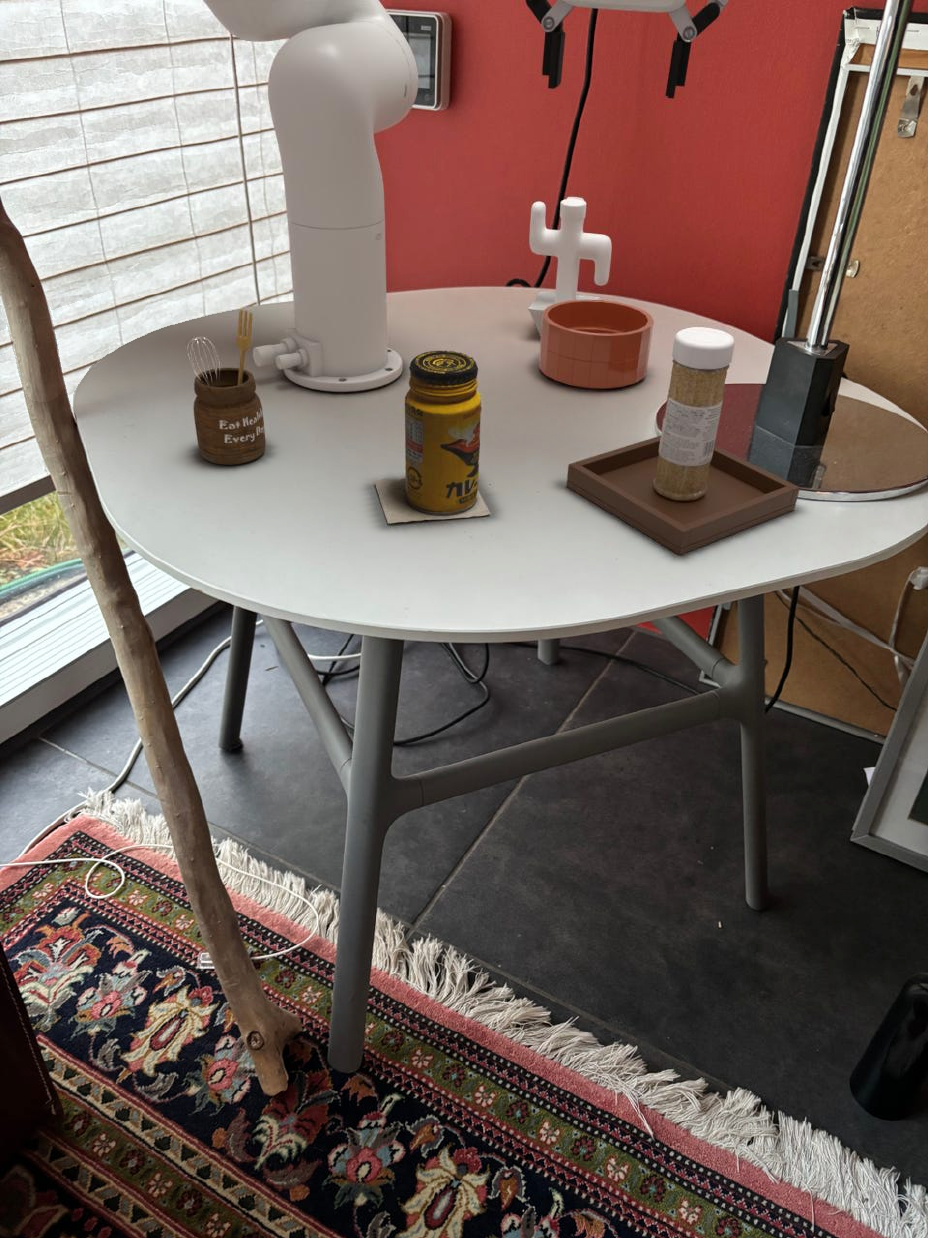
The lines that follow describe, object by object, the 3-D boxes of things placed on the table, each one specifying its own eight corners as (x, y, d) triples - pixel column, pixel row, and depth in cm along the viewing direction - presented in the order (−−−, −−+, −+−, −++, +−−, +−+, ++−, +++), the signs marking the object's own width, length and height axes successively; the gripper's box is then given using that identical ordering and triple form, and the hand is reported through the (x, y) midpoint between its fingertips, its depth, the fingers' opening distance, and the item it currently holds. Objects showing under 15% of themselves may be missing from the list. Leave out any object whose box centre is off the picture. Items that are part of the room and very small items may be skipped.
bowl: (586, 400, 100) (592, 342, 96) (517, 364, 107) (520, 310, 104) (667, 377, 105) (676, 322, 102) (596, 345, 113) (602, 293, 110)
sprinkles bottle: (676, 473, 85) (701, 321, 78) (717, 493, 83) (748, 337, 75) (640, 488, 83) (663, 332, 75) (681, 509, 80) (709, 349, 72)
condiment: (490, 515, 80) (497, 374, 73) (387, 525, 78) (384, 381, 71) (470, 475, 85) (474, 341, 78) (374, 483, 84) (369, 346, 77)
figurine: (596, 348, 112) (612, 210, 104) (517, 338, 114) (525, 202, 106) (606, 328, 118) (621, 196, 109) (530, 319, 120) (538, 189, 111)
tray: (679, 555, 75) (683, 532, 74) (566, 486, 84) (568, 463, 83) (794, 509, 82) (800, 487, 81) (678, 449, 91) (681, 428, 90)
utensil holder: (185, 453, 87) (164, 321, 80) (238, 431, 92) (223, 303, 85) (230, 473, 85) (212, 337, 78) (282, 449, 89) (271, 317, 82)
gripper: (518, -184, 69) (501, 88, 79) (767, -173, 67) (717, 106, 77) (533, -175, 75) (516, 77, 85) (762, -165, 73) (716, 93, 83)
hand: (611, 91), depth 81 cm, fingers open, 9 cm apart
